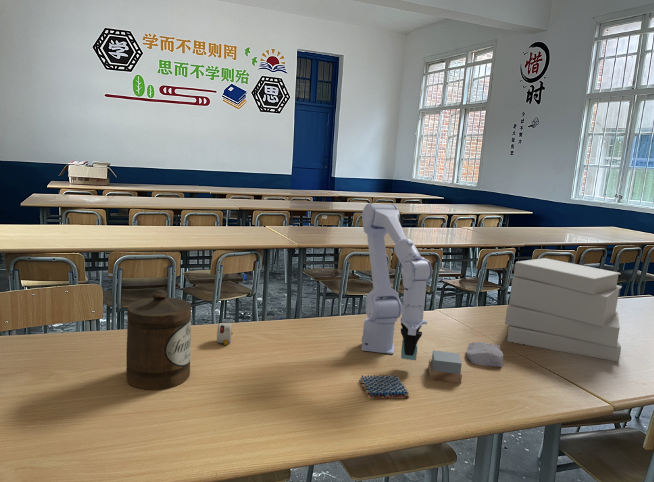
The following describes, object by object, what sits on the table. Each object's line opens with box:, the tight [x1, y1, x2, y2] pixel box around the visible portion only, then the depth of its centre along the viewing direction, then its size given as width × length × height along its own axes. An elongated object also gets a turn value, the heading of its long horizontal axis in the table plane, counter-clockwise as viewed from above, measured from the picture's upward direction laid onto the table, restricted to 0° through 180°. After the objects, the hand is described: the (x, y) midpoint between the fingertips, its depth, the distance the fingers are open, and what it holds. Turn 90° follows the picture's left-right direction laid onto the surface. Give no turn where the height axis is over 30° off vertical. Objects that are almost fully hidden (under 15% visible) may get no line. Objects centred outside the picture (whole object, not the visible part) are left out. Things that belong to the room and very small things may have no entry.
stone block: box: [466, 341, 504, 368], centre depth 144 cm, size 12×5×10 cm
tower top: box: [431, 349, 462, 374], centre depth 129 cm, size 7×7×3 cm
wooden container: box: [125, 289, 192, 391], centre depth 117 cm, size 15×15×22 cm
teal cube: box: [400, 338, 418, 361], centre depth 132 cm, size 4×4×4 cm
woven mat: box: [359, 374, 410, 400], centre depth 120 cm, size 10×11×2 cm
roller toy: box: [216, 322, 234, 346], centre depth 143 cm, size 4×6×6 cm
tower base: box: [427, 358, 463, 384], centre depth 130 cm, size 8×8×3 cm
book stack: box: [504, 257, 623, 363], centre depth 162 cm, size 30×35×26 cm
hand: (408, 351), depth 132 cm, fingers closed on teal cube, 4 cm apart
